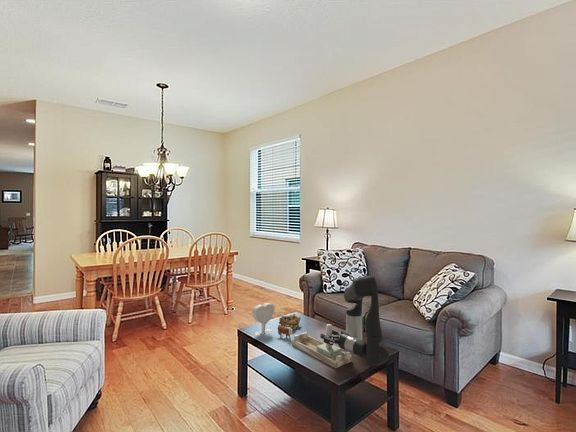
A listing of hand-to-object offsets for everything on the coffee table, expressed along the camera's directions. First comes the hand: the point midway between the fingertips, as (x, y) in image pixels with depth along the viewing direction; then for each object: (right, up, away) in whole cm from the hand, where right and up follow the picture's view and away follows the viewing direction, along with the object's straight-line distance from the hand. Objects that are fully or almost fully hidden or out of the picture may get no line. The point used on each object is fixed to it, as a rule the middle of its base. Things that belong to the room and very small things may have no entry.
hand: (326, 333), depth 171 cm
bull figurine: (-22, -12, +24) cm, 35 cm away
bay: (-3, -13, +4) cm, 14 cm away
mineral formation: (-18, -12, +45) cm, 50 cm away
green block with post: (+1, -12, -1) cm, 12 cm away
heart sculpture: (-37, -12, +35) cm, 52 cm away
